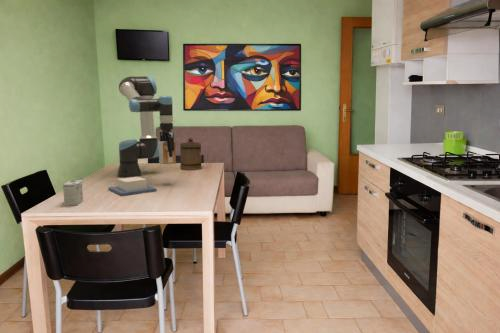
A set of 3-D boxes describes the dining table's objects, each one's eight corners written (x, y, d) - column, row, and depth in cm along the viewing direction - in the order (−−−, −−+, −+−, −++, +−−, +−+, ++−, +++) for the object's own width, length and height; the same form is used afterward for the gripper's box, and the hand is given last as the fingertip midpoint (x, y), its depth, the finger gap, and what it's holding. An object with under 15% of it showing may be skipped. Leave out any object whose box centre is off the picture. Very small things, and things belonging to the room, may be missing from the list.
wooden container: (205, 167, 343) (205, 137, 340) (192, 170, 331) (191, 139, 327) (189, 166, 351) (188, 136, 347) (176, 169, 339) (175, 138, 335)
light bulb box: (70, 200, 243) (68, 180, 241) (83, 200, 244) (82, 179, 242) (63, 205, 232) (62, 184, 231) (78, 205, 233) (76, 183, 231)
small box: (163, 164, 277) (162, 142, 274) (159, 163, 282) (158, 141, 280) (176, 163, 281) (175, 141, 279) (171, 161, 286) (170, 140, 284)
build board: (108, 190, 269) (107, 178, 268) (141, 185, 280) (141, 174, 279) (122, 196, 253) (121, 184, 252) (156, 191, 265) (156, 179, 264)
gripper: (153, 121, 283) (154, 160, 287) (168, 124, 267) (169, 164, 271) (164, 121, 287) (165, 158, 291) (180, 123, 272) (181, 163, 276)
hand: (167, 161), depth 281 cm, fingers closed on small box, 6 cm apart
